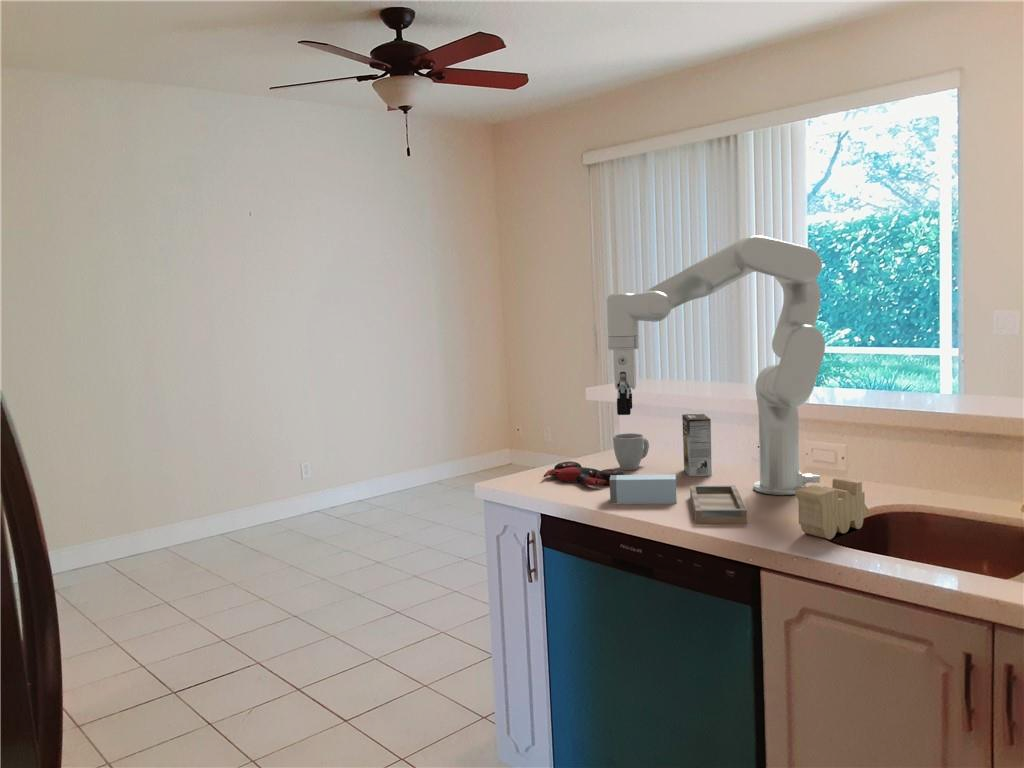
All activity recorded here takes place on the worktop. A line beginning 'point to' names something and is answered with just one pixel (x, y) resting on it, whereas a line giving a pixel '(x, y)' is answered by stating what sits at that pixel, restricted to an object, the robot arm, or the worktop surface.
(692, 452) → the coffee box
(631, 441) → the mug
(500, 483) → the worktop surface
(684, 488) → the worktop surface
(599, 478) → the toy motorcycle
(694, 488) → the cradle
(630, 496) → the light blue block
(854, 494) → the toy train
